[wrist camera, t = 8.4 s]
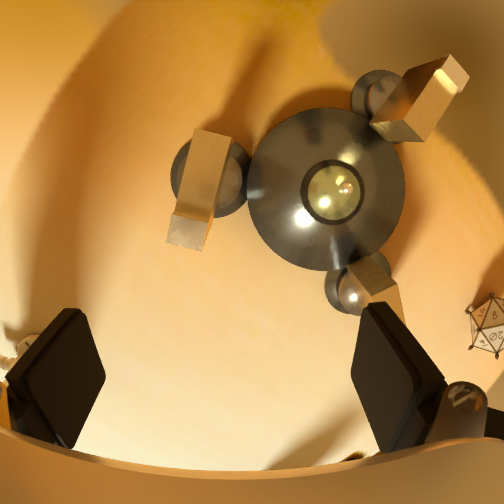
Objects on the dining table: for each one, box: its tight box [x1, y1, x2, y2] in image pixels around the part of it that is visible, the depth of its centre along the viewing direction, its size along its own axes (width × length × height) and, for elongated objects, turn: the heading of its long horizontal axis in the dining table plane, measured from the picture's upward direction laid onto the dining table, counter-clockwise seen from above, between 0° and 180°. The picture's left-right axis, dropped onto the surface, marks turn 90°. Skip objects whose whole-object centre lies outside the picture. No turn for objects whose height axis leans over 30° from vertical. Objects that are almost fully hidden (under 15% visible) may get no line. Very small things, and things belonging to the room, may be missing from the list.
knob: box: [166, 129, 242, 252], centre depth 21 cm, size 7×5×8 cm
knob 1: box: [336, 256, 406, 326], centre depth 25 cm, size 7×5×8 cm
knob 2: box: [364, 54, 470, 142], centre depth 19 cm, size 7×5×8 cm
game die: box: [465, 292, 504, 359], centre depth 28 cm, size 9×8×10 cm
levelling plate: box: [171, 70, 405, 314], centre depth 24 cm, size 22×24×3 cm
